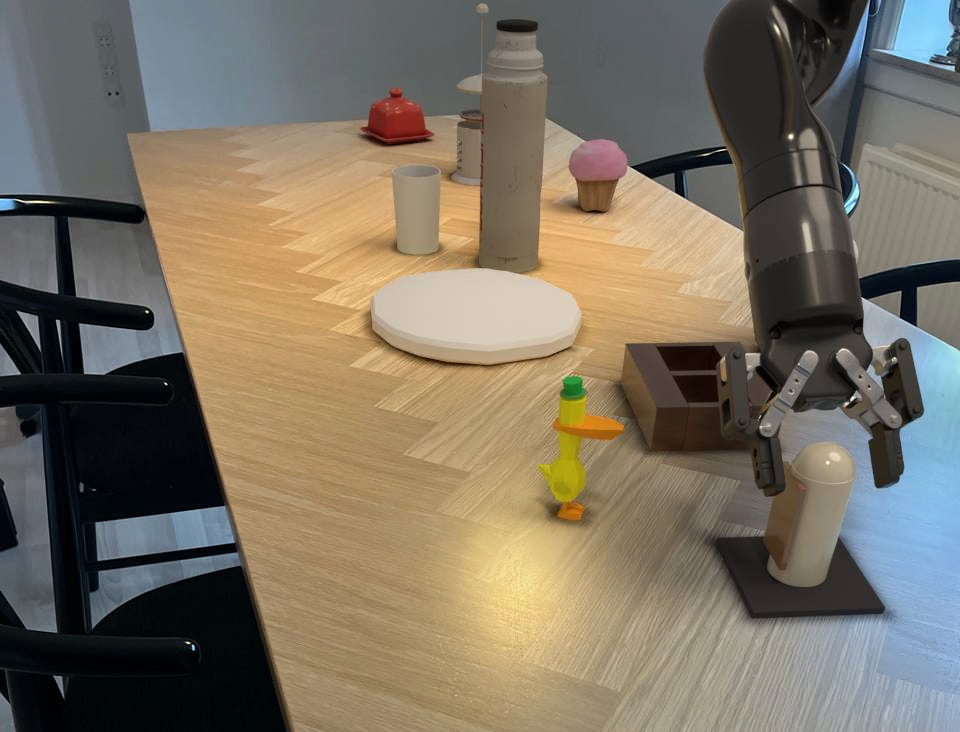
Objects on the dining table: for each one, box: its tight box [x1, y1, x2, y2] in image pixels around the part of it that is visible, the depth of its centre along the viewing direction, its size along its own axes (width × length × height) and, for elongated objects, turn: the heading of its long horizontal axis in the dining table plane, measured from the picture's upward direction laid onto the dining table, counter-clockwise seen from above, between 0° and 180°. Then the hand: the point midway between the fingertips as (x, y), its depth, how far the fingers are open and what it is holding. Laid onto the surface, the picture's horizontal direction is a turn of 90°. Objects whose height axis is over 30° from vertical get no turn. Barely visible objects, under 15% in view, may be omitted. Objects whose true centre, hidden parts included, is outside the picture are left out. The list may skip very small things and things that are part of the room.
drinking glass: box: [391, 164, 442, 255], centre depth 133 cm, size 7×7×10 cm
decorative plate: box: [370, 267, 583, 366], centre depth 114 cm, size 25×4×25 cm
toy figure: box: [536, 375, 625, 521], centre depth 79 cm, size 7×4×12 cm, turn 76°
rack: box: [620, 341, 782, 453], centre depth 96 cm, size 12×15×4 cm
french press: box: [450, 3, 489, 186], centre depth 159 cm, size 10×12×25 cm
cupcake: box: [568, 138, 628, 213], centre depth 149 cm, size 9×9×10 cm
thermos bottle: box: [478, 18, 549, 274], centre depth 123 cm, size 8×8×28 cm
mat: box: [715, 535, 886, 619], centre depth 76 cm, size 10×10×1 cm
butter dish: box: [359, 87, 436, 145], centre depth 185 cm, size 12×12×8 cm
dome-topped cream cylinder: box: [763, 441, 858, 587], centre depth 72 cm, size 5×4×11 cm
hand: (832, 489), depth 69 cm, fingers open, 8 cm apart
